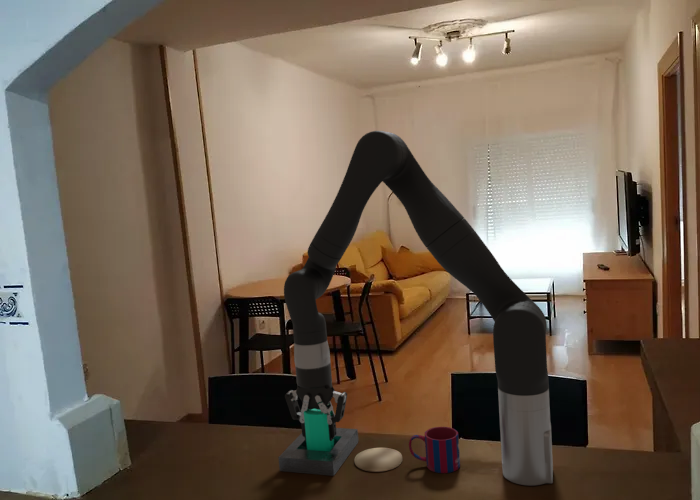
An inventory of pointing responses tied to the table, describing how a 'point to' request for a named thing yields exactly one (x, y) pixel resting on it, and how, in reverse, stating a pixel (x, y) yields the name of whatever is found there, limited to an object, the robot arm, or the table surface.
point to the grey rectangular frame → (318, 454)
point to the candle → (317, 431)
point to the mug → (440, 449)
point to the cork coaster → (378, 459)
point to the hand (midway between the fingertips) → (319, 438)
